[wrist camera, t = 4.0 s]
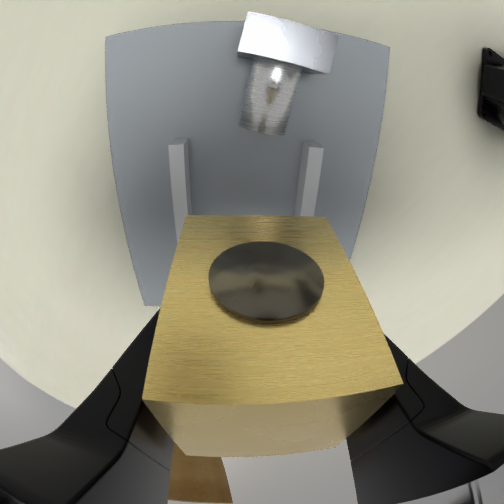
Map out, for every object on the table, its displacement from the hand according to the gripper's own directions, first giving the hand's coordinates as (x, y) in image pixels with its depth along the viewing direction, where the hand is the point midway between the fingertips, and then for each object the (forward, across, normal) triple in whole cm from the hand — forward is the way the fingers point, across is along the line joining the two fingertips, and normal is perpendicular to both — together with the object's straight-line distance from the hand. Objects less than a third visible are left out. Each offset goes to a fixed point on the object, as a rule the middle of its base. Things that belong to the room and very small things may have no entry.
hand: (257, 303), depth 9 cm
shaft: (+9, -1, -7) cm, 11 cm away
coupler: (+2, 0, 0) cm, 2 cm away
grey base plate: (+10, 0, 0) cm, 10 cm away
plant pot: (+10, +9, +41) cm, 43 cm away
